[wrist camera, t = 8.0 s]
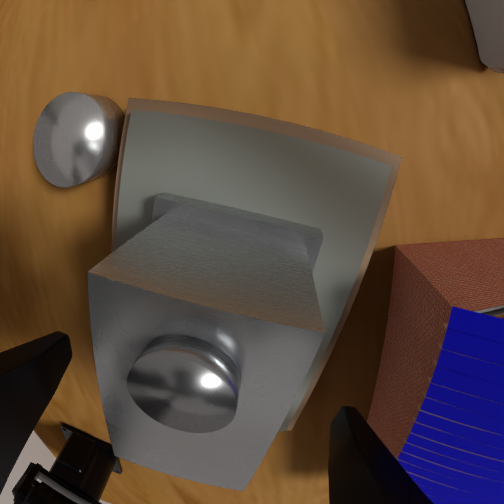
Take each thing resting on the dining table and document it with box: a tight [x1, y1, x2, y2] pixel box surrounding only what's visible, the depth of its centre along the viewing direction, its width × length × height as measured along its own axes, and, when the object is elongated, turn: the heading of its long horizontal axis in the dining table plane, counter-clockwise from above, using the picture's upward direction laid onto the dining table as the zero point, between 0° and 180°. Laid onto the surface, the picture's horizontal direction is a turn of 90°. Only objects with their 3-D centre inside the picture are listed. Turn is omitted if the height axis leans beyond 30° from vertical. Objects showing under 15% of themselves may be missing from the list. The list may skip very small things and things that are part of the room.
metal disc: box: [33, 92, 125, 188], centre depth 12 cm, size 4×4×2 cm
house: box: [367, 238, 504, 504], centre depth 11 cm, size 12×20×12 cm, turn 6°
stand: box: [111, 98, 401, 431], centre depth 14 cm, size 16×11×2 cm
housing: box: [87, 192, 325, 491], centre depth 10 cm, size 9×6×7 cm, turn 168°
